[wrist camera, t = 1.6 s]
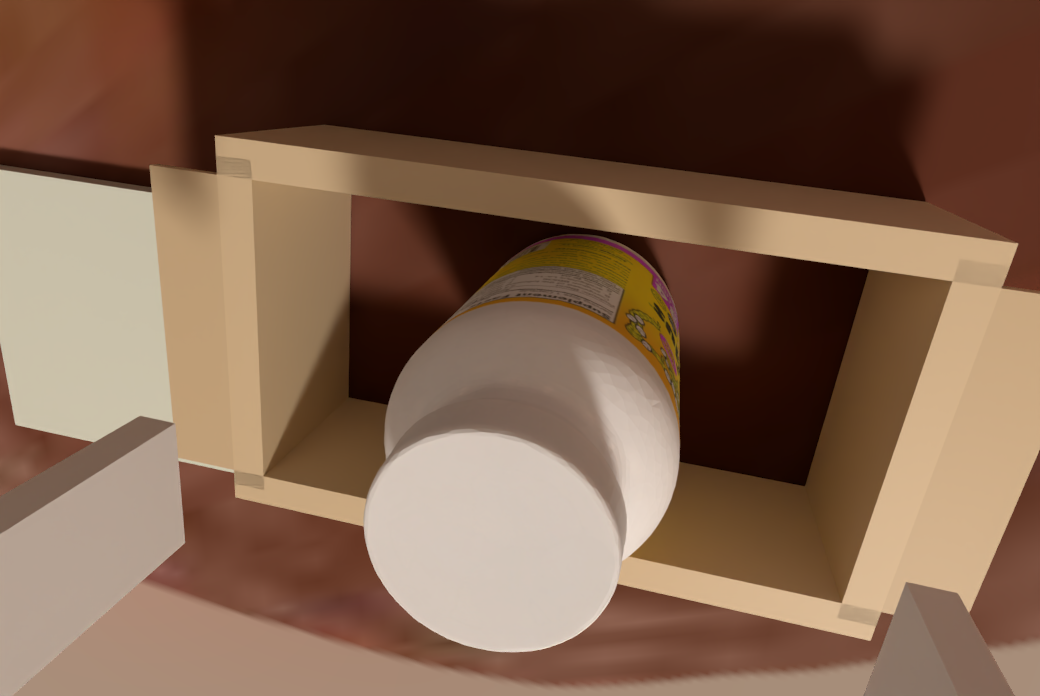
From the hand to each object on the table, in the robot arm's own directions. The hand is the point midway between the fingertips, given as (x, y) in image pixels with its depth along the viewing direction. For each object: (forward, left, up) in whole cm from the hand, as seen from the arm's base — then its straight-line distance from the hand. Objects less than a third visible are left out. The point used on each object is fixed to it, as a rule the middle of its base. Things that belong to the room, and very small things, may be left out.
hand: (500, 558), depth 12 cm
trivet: (+3, -18, -13) cm, 22 cm away
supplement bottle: (0, 0, -13) cm, 13 cm away
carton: (0, 0, -13) cm, 13 cm away
